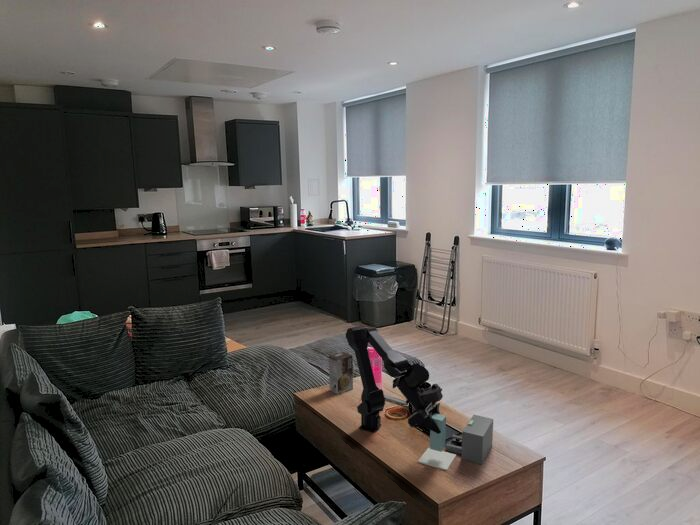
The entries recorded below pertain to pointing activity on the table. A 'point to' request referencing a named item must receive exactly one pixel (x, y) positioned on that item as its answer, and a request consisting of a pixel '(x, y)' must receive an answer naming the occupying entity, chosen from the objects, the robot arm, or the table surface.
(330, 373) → the coffee box
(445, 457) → the mat
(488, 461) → the table surface
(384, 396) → the adjustable wrench
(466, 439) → the charging dock
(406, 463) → the table surface
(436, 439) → the key block
